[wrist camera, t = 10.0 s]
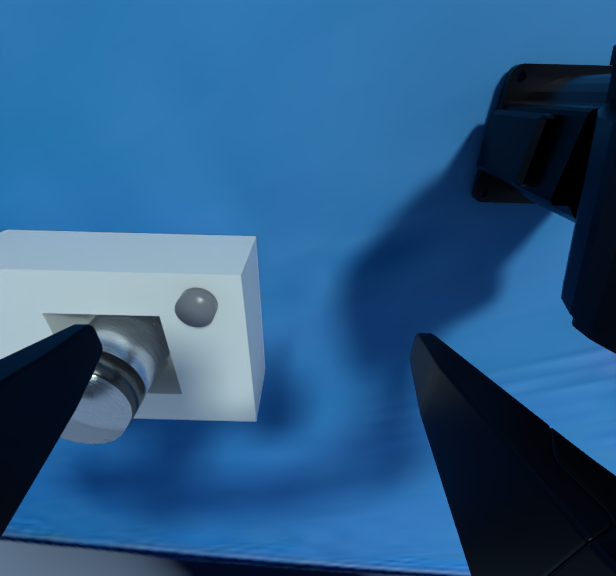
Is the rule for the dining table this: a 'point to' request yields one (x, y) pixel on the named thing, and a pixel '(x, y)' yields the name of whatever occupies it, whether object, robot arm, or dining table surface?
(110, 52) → the dining table surface
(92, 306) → the camera body
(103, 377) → the steel lens
